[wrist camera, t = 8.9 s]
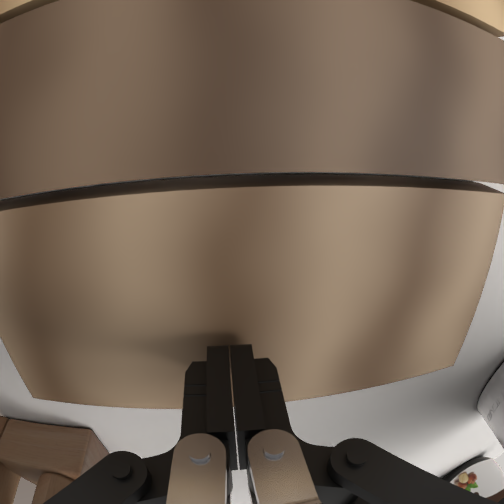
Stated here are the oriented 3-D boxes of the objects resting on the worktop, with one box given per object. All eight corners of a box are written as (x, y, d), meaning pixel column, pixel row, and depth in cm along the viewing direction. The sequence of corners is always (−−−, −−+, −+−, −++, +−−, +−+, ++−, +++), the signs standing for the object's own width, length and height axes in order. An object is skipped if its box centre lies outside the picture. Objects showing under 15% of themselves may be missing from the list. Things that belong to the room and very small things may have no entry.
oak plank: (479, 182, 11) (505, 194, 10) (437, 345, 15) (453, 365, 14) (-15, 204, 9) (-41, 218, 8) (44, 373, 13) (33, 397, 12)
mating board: (486, 50, 9) (517, 48, 7) (483, 174, 12) (513, 185, 10) (-29, 58, 7) (-58, 56, 5) (-22, 195, 9) (-50, 209, 8)
